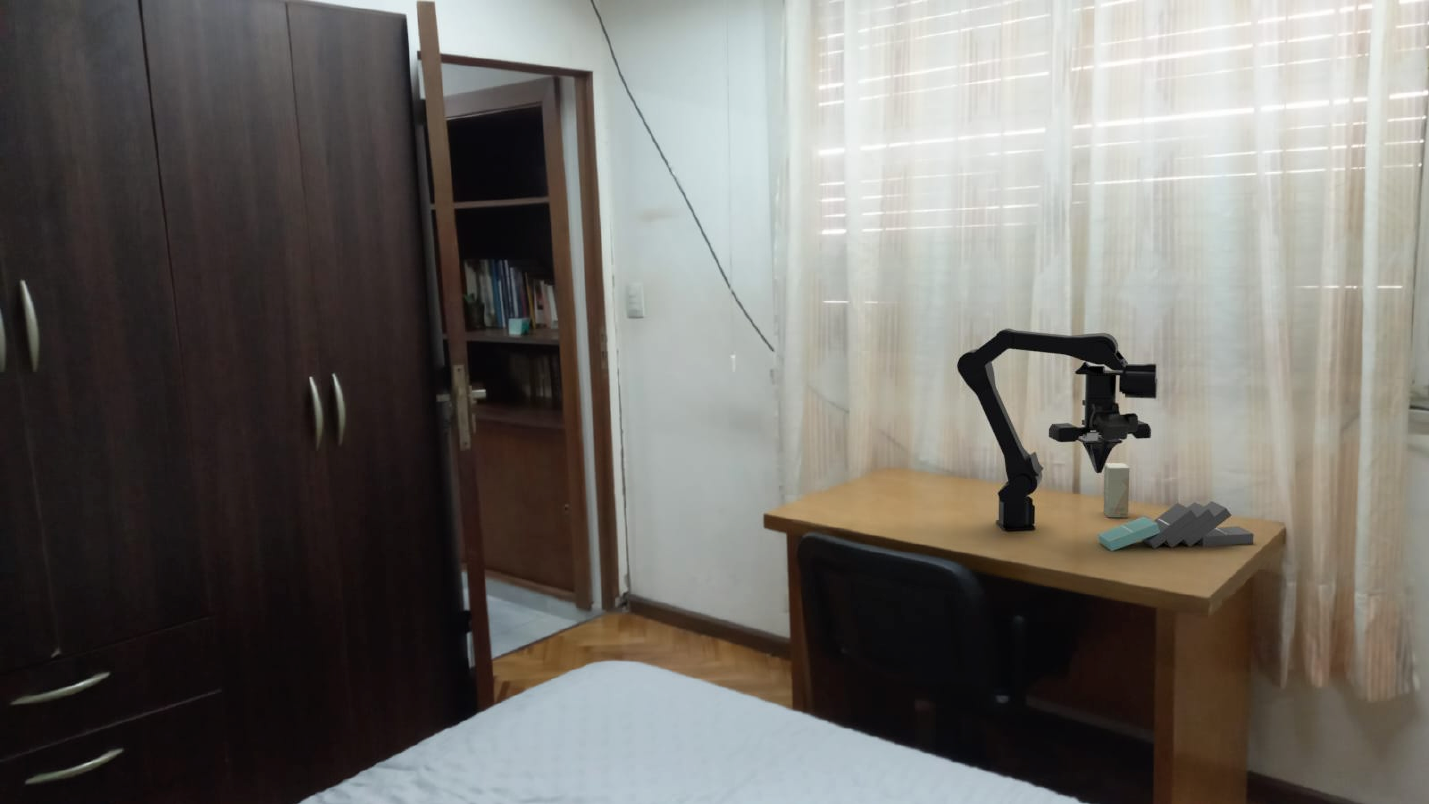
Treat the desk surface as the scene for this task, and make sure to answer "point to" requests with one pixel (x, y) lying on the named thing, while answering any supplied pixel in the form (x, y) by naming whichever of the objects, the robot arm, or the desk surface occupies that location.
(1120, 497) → the box
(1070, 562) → the desk surface
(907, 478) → the desk surface
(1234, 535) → the tile
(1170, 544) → the tile
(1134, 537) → the head tile
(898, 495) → the desk surface
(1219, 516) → the tile
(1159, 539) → the tile
